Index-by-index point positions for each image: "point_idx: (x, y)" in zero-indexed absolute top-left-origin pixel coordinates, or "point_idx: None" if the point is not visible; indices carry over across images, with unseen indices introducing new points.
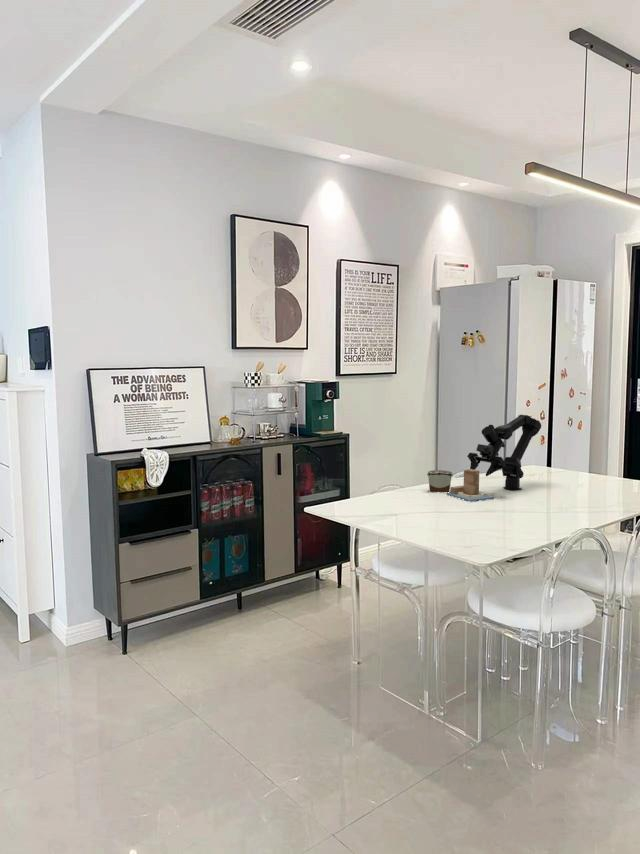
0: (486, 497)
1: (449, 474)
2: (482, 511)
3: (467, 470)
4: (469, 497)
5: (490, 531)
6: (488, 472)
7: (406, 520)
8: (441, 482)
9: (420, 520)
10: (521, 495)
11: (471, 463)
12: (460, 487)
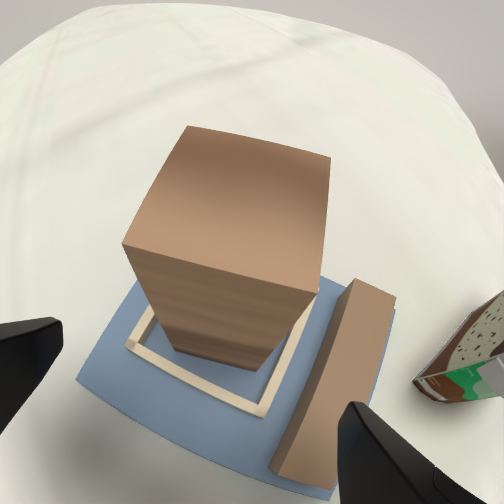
0: (111, 334)
1: (502, 346)
2: (95, 123)
3: (290, 165)
4: None
5: (75, 45)
6: (12, 332)
7: (251, 28)
8: (482, 331)
9: (227, 32)
10: None
11: (459, 497)
12: (338, 330)
